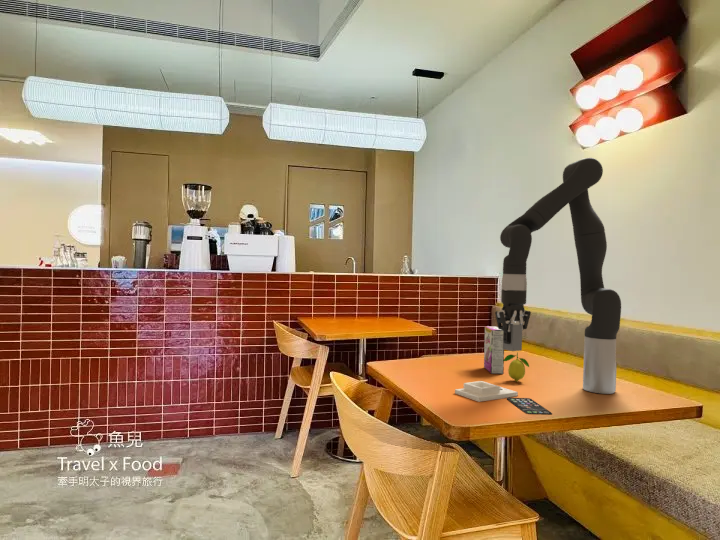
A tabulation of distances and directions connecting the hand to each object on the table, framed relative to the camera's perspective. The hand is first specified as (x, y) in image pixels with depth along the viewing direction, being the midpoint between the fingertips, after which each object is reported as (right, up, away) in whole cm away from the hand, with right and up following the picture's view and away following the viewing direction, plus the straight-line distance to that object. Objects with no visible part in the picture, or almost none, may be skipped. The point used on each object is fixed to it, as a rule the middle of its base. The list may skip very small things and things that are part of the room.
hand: (512, 343), depth 148 cm
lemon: (+6, -16, +14) cm, 22 cm away
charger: (0, -2, 0) cm, 2 cm away
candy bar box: (+3, -16, +31) cm, 35 cm away
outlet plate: (-10, -15, -5) cm, 18 cm away
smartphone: (-1, -16, -16) cm, 23 cm away
